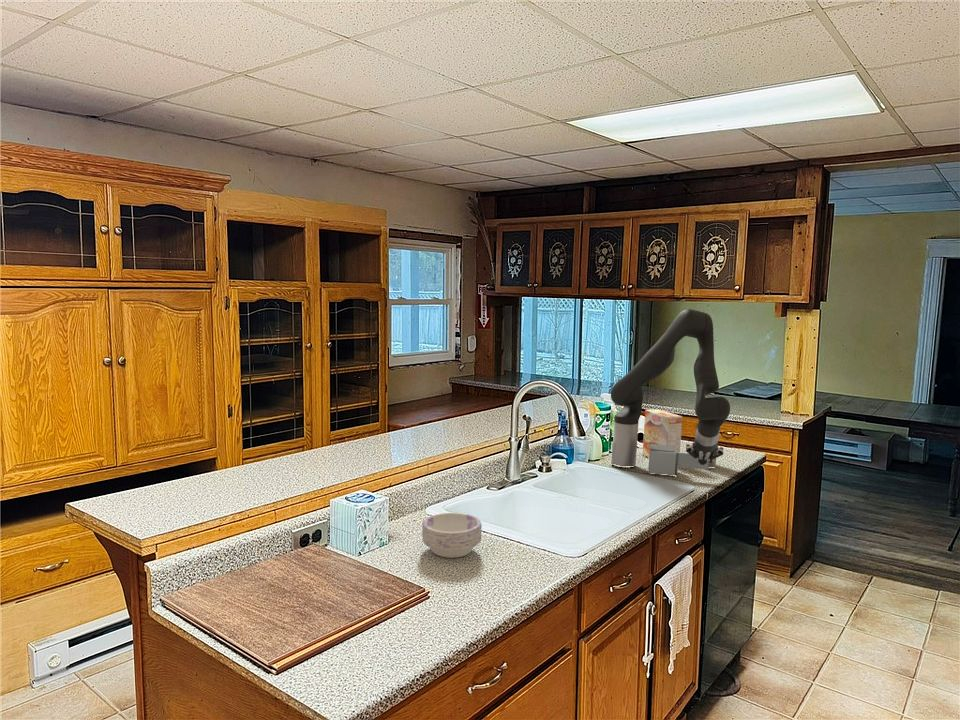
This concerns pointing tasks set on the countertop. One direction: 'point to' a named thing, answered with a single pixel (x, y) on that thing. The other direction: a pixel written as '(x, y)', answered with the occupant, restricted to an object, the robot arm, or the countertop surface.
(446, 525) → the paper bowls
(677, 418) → the coffeecake box
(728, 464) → the countertop surface
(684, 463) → the door
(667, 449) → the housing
